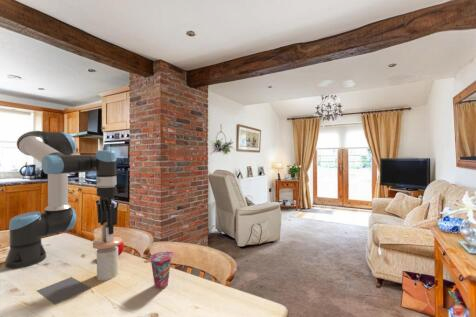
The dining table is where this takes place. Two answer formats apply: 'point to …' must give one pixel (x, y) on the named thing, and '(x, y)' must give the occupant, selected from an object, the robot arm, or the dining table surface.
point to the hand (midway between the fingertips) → (107, 240)
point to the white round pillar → (107, 263)
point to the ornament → (120, 248)
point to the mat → (63, 290)
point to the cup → (161, 268)
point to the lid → (103, 244)
